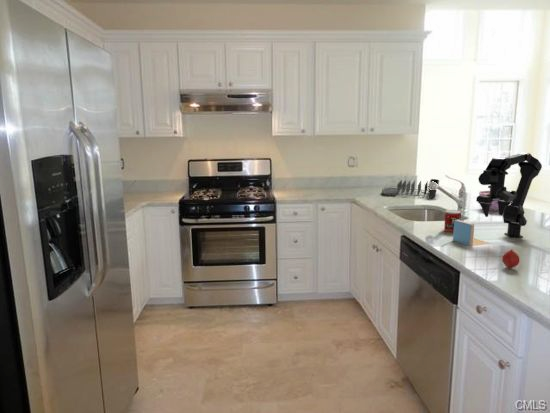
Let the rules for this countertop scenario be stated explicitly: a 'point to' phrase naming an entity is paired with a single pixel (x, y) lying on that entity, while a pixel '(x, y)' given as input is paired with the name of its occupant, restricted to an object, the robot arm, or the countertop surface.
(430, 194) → the dish rack
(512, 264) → the onion
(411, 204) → the countertop surface
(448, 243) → the countertop surface
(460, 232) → the tile
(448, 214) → the canned food
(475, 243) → the mat
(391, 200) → the countertop surface
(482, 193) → the bowl of food
